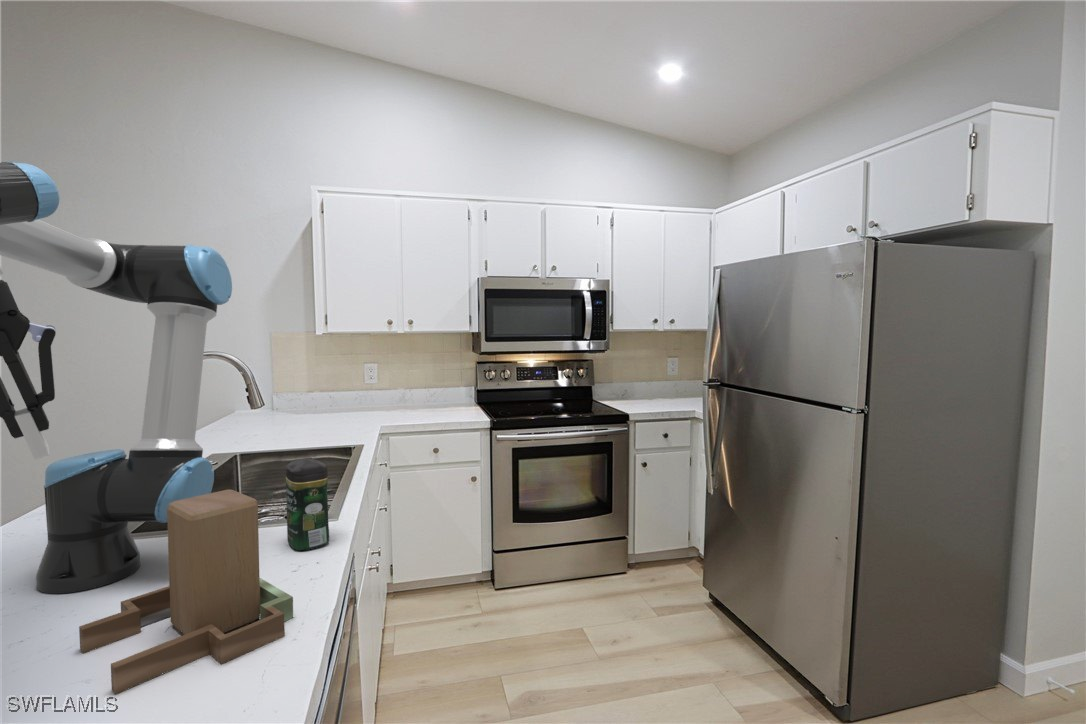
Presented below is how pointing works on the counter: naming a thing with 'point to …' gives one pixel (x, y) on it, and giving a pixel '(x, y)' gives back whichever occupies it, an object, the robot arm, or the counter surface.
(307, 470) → the coffee jar
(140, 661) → the trap lane
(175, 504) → the block
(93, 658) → the counter surface
